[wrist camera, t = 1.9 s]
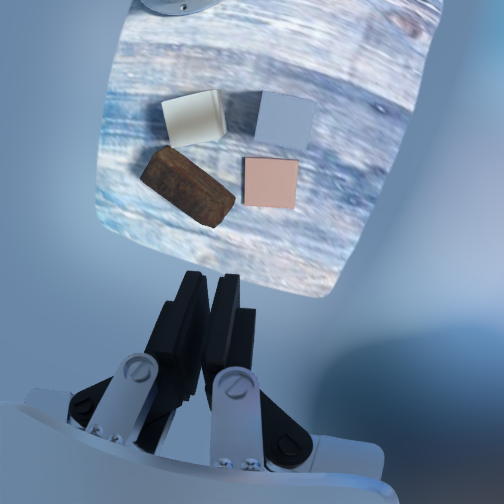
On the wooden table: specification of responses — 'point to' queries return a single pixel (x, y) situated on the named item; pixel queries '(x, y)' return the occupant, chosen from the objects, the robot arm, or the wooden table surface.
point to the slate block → (284, 120)
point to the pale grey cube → (195, 118)
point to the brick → (188, 187)
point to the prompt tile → (270, 182)
